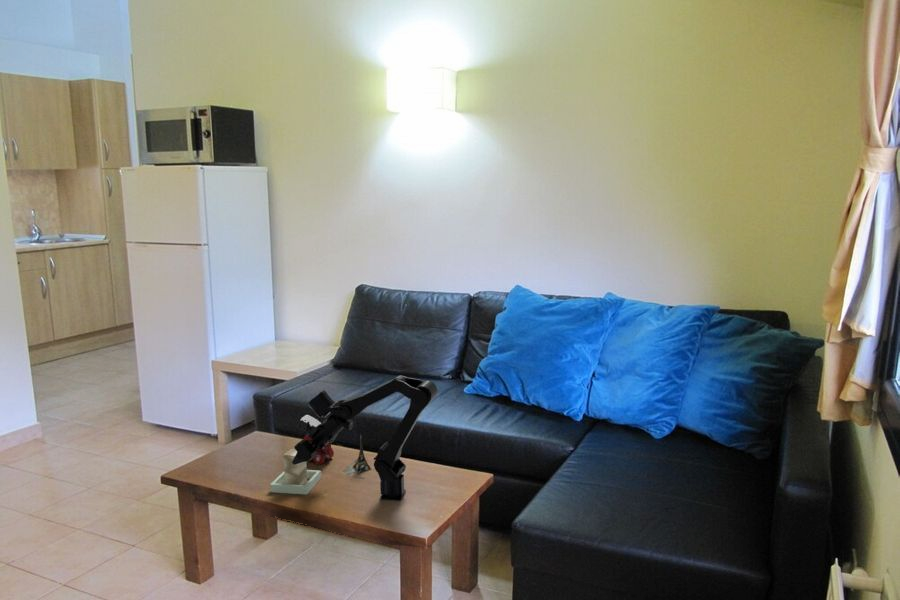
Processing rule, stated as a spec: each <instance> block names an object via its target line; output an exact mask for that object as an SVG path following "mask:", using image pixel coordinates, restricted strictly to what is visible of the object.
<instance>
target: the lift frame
mask: <svg viewBox="0 0 900 600" xmlns="http://www.w3.org/2000/svg"><path fill="white" fill-rule="evenodd" d="M321 478H322V471H321V470H318V469H317V470H314V469H313V470H312V469H307V479H308V480H307V483H306V484H305V485H292V484H285V475H284V471H282V472H281V474H279V476H277V477H276V478H275V479H274V480H272V482H271V483H270V484H269V487H270V488H269V489H270V491H269V492H270V493H279V494H293V495H294V494H295V495H308V494H309V493H310V492H311V490H312V489H313V488H314V487H315V486H316V485H317V483H319V481H320V480H321Z"/></svg>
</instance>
